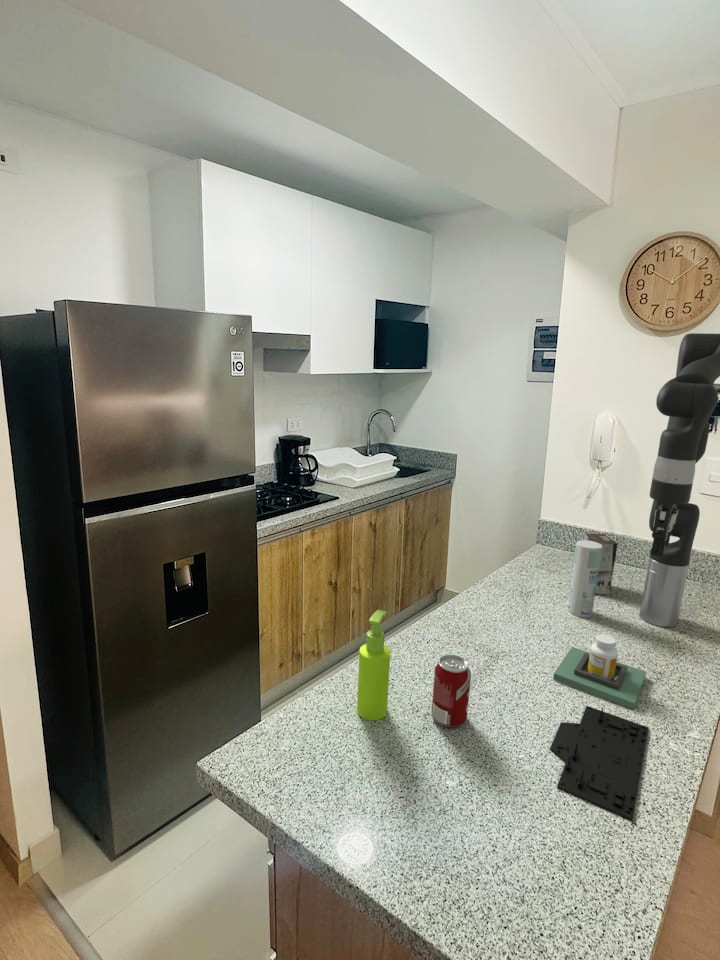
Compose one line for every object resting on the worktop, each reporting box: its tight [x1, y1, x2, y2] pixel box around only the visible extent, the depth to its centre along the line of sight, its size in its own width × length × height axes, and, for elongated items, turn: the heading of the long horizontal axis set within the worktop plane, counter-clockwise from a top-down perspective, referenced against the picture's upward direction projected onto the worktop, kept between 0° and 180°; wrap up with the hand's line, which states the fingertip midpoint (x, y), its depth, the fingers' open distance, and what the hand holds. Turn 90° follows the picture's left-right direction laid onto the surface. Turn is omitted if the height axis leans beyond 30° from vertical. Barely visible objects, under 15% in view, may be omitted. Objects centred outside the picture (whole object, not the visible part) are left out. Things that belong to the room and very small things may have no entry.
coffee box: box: [583, 533, 618, 595], centre depth 163 cm, size 9×6×16 cm
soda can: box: [431, 654, 472, 728], centre depth 102 cm, size 7×7×12 cm
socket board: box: [552, 646, 647, 710], centre depth 117 cm, size 14×16×2 cm
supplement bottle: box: [586, 633, 618, 681], centre depth 117 cm, size 5×5×10 cm
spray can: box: [567, 539, 602, 619], centre depth 146 cm, size 6×6×20 cm
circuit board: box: [549, 705, 649, 822], centre depth 95 cm, size 25×14×3 cm, turn 147°
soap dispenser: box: [356, 609, 391, 721], centre depth 103 cm, size 6×7×20 cm
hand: (659, 550), depth 117 cm, fingers open, 8 cm apart
